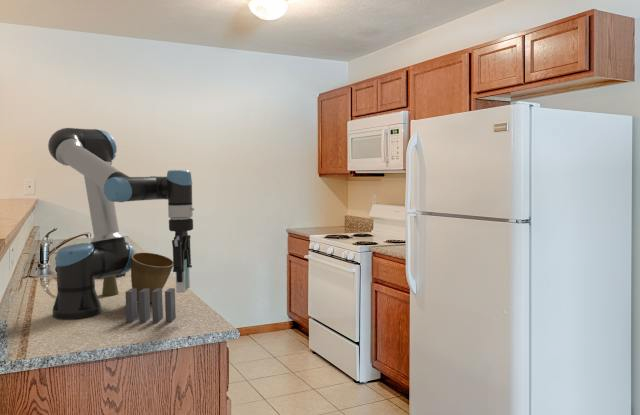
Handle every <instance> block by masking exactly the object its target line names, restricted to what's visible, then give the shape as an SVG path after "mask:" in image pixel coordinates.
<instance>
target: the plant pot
mask: <svg viewBox="0 0 640 415" xmlns="http://www.w3.org/2000/svg"><path fill="white" fill-rule="evenodd" d="M172 271H173V259H171V258H170V257H167V256H165V255H162V254H159V253H155V252H154V253H153V252H138V253H134V254H133V255H132V260H131V269H130V277H131V278H130V279H131V280H130V281H131V289H137V303H139V291H141V290H142V289H144V288H149V294H150V305H152V291H154V290H155V289H156V288H162V290H163V289H164V287H165V285H166V282H167V281H168V279H169V277H170V274H171V272H172Z"/></svg>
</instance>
